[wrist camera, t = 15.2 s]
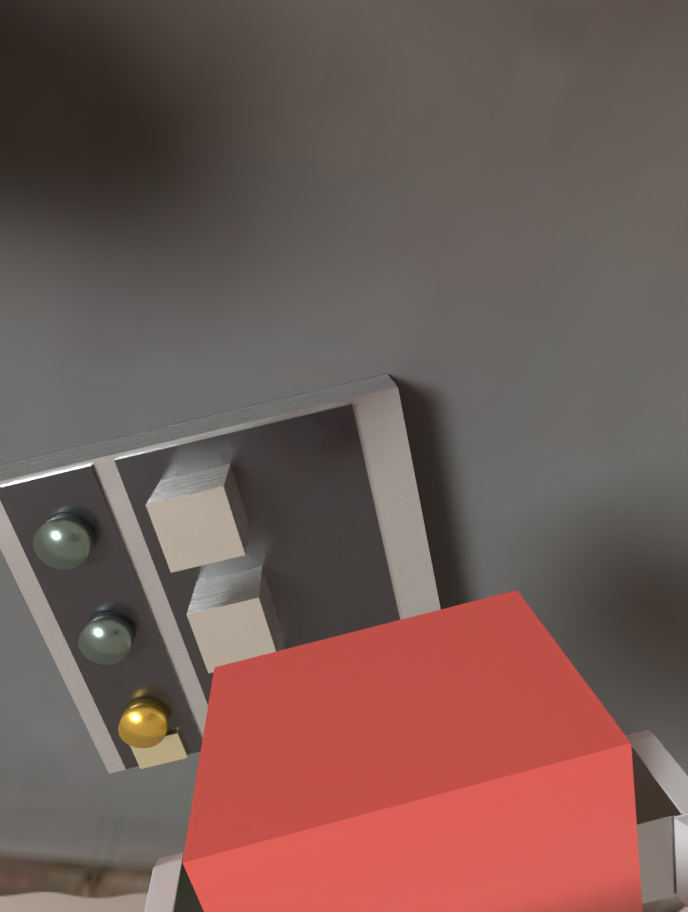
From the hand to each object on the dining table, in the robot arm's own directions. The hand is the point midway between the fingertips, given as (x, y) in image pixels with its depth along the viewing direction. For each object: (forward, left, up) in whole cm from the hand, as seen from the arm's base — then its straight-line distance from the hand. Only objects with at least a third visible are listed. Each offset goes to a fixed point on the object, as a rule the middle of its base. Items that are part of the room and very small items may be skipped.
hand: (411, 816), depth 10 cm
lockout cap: (0, 0, -2) cm, 2 cm away
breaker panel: (+6, +4, -18) cm, 20 cm away
